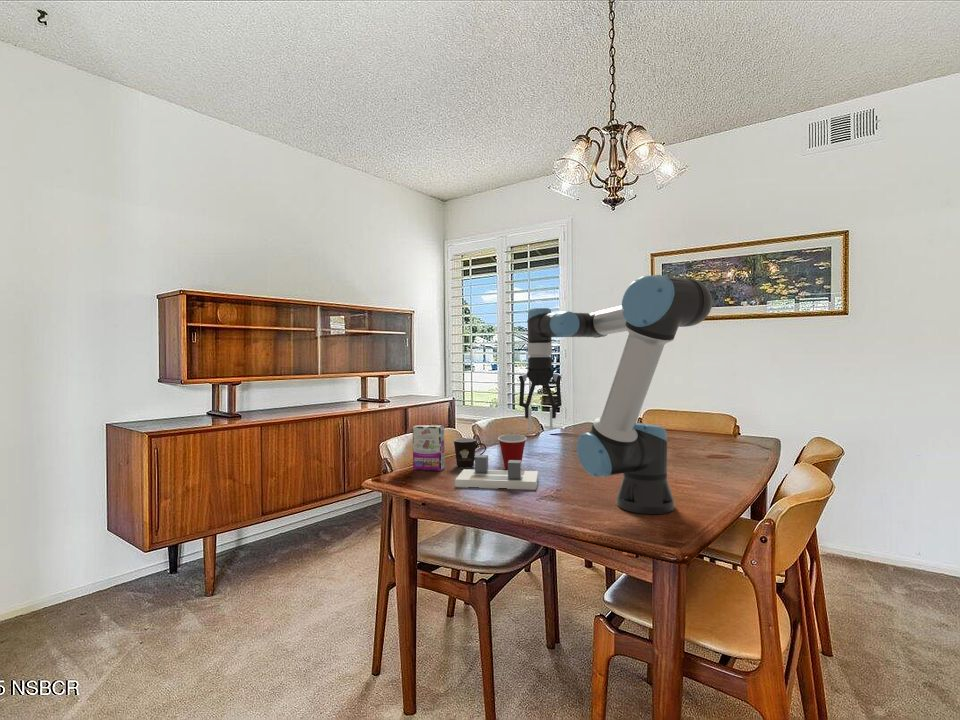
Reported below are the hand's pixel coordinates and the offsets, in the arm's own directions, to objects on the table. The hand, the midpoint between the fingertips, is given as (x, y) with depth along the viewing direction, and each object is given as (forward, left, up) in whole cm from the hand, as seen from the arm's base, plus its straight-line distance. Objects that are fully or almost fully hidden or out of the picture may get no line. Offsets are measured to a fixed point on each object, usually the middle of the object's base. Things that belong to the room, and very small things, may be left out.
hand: (540, 428), depth 160 cm
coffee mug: (+26, +29, -19) cm, 43 cm away
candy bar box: (+20, +43, -19) cm, 51 cm away
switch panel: (+4, +15, -19) cm, 24 cm away
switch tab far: (+7, +20, -16) cm, 27 cm away
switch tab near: (0, +8, -16) cm, 18 cm away
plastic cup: (+24, +12, -19) cm, 32 cm away
